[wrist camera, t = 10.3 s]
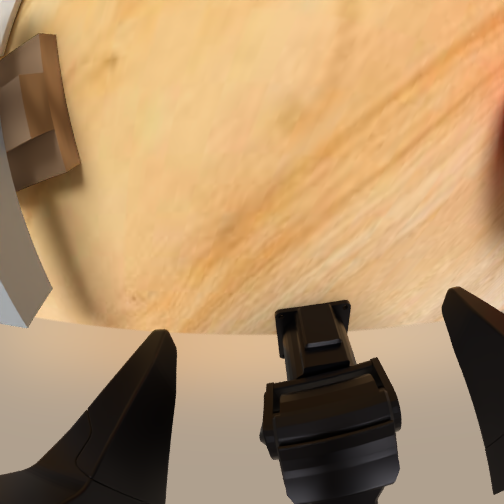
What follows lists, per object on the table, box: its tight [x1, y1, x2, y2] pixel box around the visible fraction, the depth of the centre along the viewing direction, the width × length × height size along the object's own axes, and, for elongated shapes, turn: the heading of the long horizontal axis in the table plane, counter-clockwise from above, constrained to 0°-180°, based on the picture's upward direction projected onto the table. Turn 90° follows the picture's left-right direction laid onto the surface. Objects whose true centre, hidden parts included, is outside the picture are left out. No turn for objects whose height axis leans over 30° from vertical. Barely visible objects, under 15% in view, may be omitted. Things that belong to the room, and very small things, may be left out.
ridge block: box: [0, 33, 81, 192], centre depth 12 cm, size 10×8×4 cm
